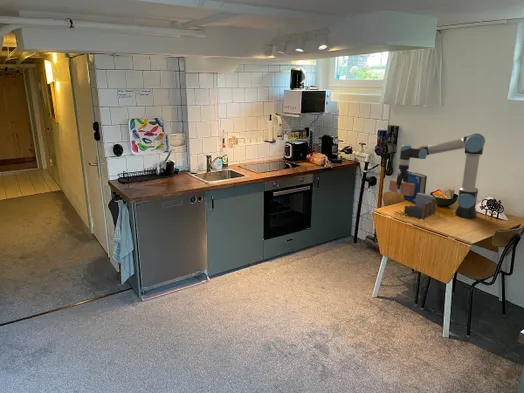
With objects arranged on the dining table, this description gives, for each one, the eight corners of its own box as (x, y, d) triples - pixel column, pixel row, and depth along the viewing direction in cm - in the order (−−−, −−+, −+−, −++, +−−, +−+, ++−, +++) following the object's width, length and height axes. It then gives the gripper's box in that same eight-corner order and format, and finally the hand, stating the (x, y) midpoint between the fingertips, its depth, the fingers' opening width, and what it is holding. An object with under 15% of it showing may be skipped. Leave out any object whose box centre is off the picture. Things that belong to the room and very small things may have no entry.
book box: (393, 189, 331) (394, 178, 329) (413, 195, 315) (414, 184, 312) (388, 190, 328) (389, 179, 325) (408, 196, 312) (410, 185, 309)
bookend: (405, 212, 317) (405, 204, 315) (424, 217, 306) (425, 208, 304) (400, 214, 313) (401, 205, 311) (420, 219, 301) (421, 210, 299)
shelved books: (418, 209, 324) (420, 192, 320) (432, 213, 316) (435, 195, 311) (414, 211, 320) (416, 193, 316) (429, 214, 312) (431, 196, 308)
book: (401, 198, 357) (404, 171, 350) (408, 197, 359) (411, 170, 352) (417, 204, 337) (420, 176, 331) (424, 204, 339) (427, 175, 333)
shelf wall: (432, 213, 315) (434, 199, 312) (434, 213, 314) (436, 199, 311) (421, 218, 302) (423, 203, 299) (423, 219, 301) (424, 204, 298)
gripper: (405, 162, 324) (402, 189, 330) (393, 165, 311) (390, 193, 317) (414, 163, 319) (411, 191, 325) (402, 166, 306) (399, 195, 312)
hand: (401, 192), depth 321 cm, fingers closed on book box, 7 cm apart
